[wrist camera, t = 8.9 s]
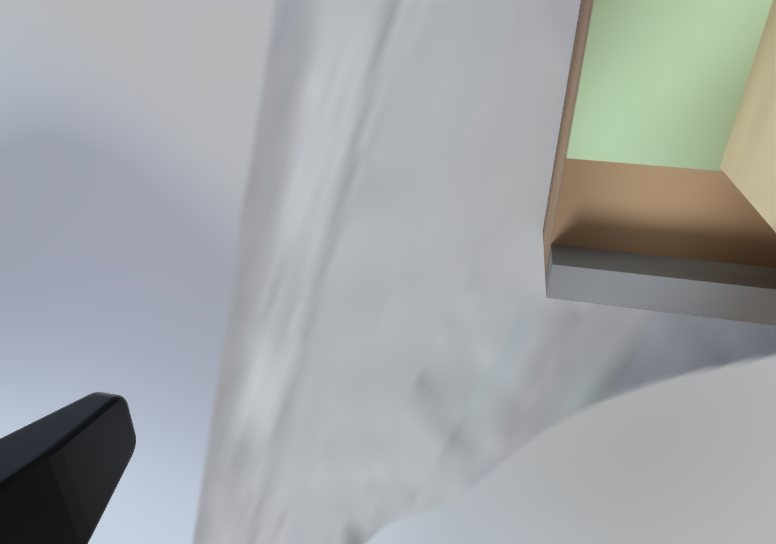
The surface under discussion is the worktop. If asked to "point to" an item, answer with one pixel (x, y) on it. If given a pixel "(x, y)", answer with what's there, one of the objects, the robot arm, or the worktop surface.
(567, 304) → the worktop surface
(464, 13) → the worktop surface
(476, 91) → the worktop surface
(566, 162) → the open box
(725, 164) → the tan green-striped carton
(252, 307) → the worktop surface
